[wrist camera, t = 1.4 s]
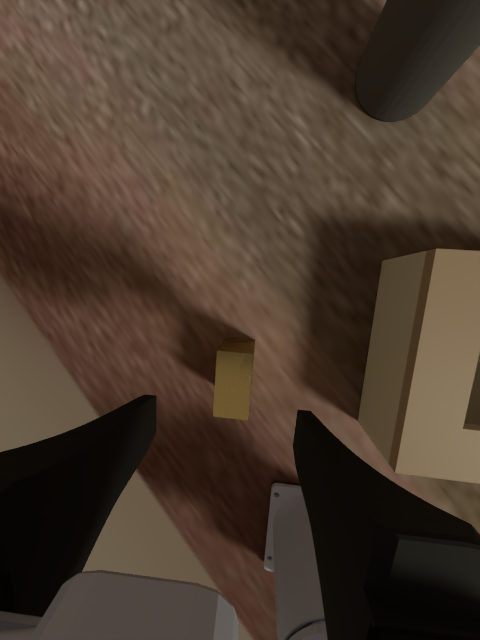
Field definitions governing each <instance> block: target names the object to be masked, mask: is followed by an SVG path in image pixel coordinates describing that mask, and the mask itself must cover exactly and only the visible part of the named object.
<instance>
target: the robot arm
mask: <svg viewBox="0 0 480 640" xmlns="http://www.w3.org/2000/svg"><path fill="white" fill-rule="evenodd" d="M155 433H156V396H153V395H143V396H140V397H138V398H136V399H134V400H132V401H131V402H129V403H127V404H125V405H123V406H121V407H119V408H117V409H115V410H113V411H112V412H110V413H108V414H106V415H103V416H101V417H99V418H97V419H95V420H93V421H91V422H89V423H87V424H85V425H82V426H80V427H77V428H75V429H72V430H70V431H67V432H65V433H62V434H60V435H57V436H54V437H51V438H48V439H45V440H42V441H39V442H36V443H33V444H29V445H26V446H22V447H19V448H15V449H11V450H7V451H3V452H0V640H238V629H239V624H238V620H237V617H236V613H235V609H234V607H233V606H232V604H231V603H230V602H229V601H228V600H227V599H226V598H225V597H224V596H223V595H222V594H221V593H220V592H218V591H217V590H215V589H213V588H210V587H207V586H204V585H201V584H198V583H191V582H185V581H177V580H170V579H162V578H155V577H148V576H141V575H133V574H126V573H119V572H111V571H103V570H98V571H85V572H82V570H83V568H84V566H85V564H86V561H87V559H88V557H89V555H90V553H91V551H92V549H93V547H94V545H95V543H96V540H97V538H98V536H99V534H100V532H101V530H102V528H103V526H104V524H105V522H106V520H107V518H108V516H109V514H110V512H111V510H112V508H113V506H114V505H115V503H116V501H117V499H118V498H119V496H120V494H121V492H122V491H123V489H124V488H125V486H126V485H127V483H128V481H129V480H130V478H131V476H132V475H133V473H134V472H135V470H136V468H137V467H138V465H139V464H140V462H141V460H142V459H143V457H144V455H145V454H146V452H147V450H148V448H149V446H150V444H151V442H152V440H153V438H154V435H155ZM293 450H294V458H295V465H296V470H297V474H298V478H299V482H300V486H297V485H290V484H283V483H274V484H273V485H272V488H271V497H270V507H269V517H268V527H267V536H266V546H265V556H264V568H265V569H266V570H268V571H273V572H274V576H275V598H276V621H277V640H480V534H479V533H478V532H477V531H476V529H475V528H474V527H473V526H472V525H471V524H469V523H467V522H465V521H463V520H461V519H459V518H457V517H455V516H453V515H451V514H449V513H447V512H445V511H443V510H441V509H439V508H437V507H435V506H433V505H431V504H429V503H428V502H426V501H424V500H422V499H421V498H419V497H417V496H415V495H414V494H412V493H410V492H408V491H407V490H405V489H404V488H402V487H400V486H399V485H397V484H396V483H394V482H393V481H391V480H389V479H388V478H386V477H385V476H383V475H382V474H381V473H379V472H378V471H376V470H375V469H373V468H372V467H371V466H370V465H368V464H367V463H366V462H364V461H363V460H362V459H360V458H359V457H358V456H357V455H355V454H354V453H353V452H352V451H351V450H350V449H349V448H347V447H346V446H345V445H344V444H343V443H342V442H341V441H340V440H339V439H337V438H336V437H335V436H334V435H333V434H332V433H331V432H330V431H329V430H328V429H327V428H326V427H325V426H324V425H323V424H322V422H321V421H320V420H319V419H318V418H317V417H316V416H315V415H314V414H313V413H312V412H311V411H305V410H298V412H297V419H296V427H295V434H294V442H293ZM275 493H278V494H275Z"/></svg>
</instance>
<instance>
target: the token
mask: <svg viewBox="0 0 480 640" xmlns="http://www.w3.org/2000/svg"><path fill="white" fill-rule="evenodd" d="M254 349H255V340H250V339H239V338H228V337H226V339H225V340H224V341H223V343H222V344H221V346H220V347H219V349H218V350H217V358H216V375H215V391H214V408H213V416H215V417H223V418H232V419H240V420H248V416H249V406H250V397H251V385H252V373H253V361H254Z"/></svg>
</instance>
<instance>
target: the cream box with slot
mask: <svg viewBox="0 0 480 640" xmlns="http://www.w3.org/2000/svg"><path fill="white" fill-rule="evenodd" d="M358 422H359V423H360V425H361V426H362V428H363V429H364V430H365V432H366V433H367V434H368V436H369V437H370V439H371V440H372V441H373V443H374V444H375V446H376V447H377V448H378V450H379V451H380V452H381V454H382V455H383V457H384V458H385V459H386V461H387V462H388V464H389V465H390V466H391V468H392V469H393V470H394V472H395V473H401V474H409V475H417V476H424V477H432V478H440V479H447V480H455V481H463V482H471V483H478V484H480V251H472V250H454V249H432V250H427V251H423V252H419V253H414V254H410V255H405V256H401V257H396V258H392V259H388V260H383V261H382V265H381V272H380V279H379V285H378V292H377V298H376V305H375V311H374V318H373V324H372V331H371V337H370V344H369V350H368V357H367V363H366V370H365V376H364V383H363V389H362V396H361V402H360V409H359V416H358Z"/></svg>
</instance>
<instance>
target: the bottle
mask: <svg viewBox="0 0 480 640" xmlns="http://www.w3.org/2000/svg"><path fill="white" fill-rule="evenodd" d="M479 45H480V0H387V1H386V3H385V6H384V8H383V10H382V12H381V15H380V17H379V19H378V22H377V24H376V26H375V29H374V31H373V33H372V36H371V38H370V40H369V43H368V45H367V47H366V50H365V52H364V55H363V57H362V59H361V62H360V65H359V67H358V71H357V75H356V93H357V97H358V100H359V102H360V104H361V106H362V107H363V109H364V110H365V111H366V112H367V113H368V114H369V115H371V116H372V117H374V118H376V119H378V120H382V121H387V122H394V121H399V120H403V119H406V118H408V117H410V116H412V115H414V114H415V113H417V112H418V111H419V110H420V109H422V108H423V107H424V106H425V105H426V104H427V103H428V102H429V101H430V100H431V98H432V97H433V96H434V95H435V94H436V93H437V92H438V91H439V90H440V89H441V88H442V86H443V85H444V84H445V83H446V82H447V81H448V80H449V79H450V78H451V76H452V75H453V74H454V73H455V72H456V71H457V70H458V69H459V68H460V66H461V65H462V64H463V63H464V62H465V61H466V60H467V59H468V58H469V57H470V55H471V54H472V53H473V52H474V51H475V50H476V49H477V48H478V47H479Z"/></svg>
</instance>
